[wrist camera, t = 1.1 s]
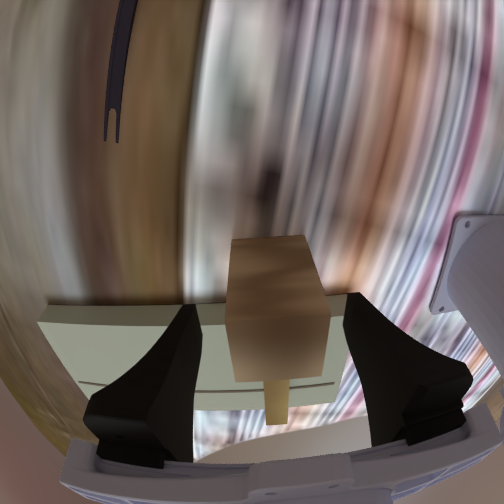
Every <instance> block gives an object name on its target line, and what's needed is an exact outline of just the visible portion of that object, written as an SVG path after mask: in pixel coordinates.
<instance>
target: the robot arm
mask: <svg viewBox="0 0 504 504" xmlns="http://www.w3.org/2000/svg"><path fill="white" fill-rule="evenodd" d="M466 222H467V223H466ZM465 223H466V225H465ZM455 310H459V311H460V313H461V314H462V316H463V317H464V318H465V320H466V321H467V323H468V324H469V326H470V327H471V329H472V330H473V331H474V333H475V334H476V336H477V337H478V339H479V340H480V342H481V344H482V345H483V347H484V348H485V350H486V351H487V353H488V355H489V356H490V358H491V359H492V361H493V363H494V364H495V366H496V368H497V369H498V371H499V373H500V374H501V376H502V378H503V380H504V215H461V216H458V217H457V218H456V219H455V222H454V225H453V230H452V234H451V238H450V242H449V246H448V250H447V254H446V258H445V261H444V265H443V269H442V272H441V275H440V279H439V282H438V285H437V288H436V291H435V294H434V297H433V300H432V303H431V306H430V312H431V314H433V315H435V314H441V313H446V312H451V311H455ZM342 325H343V329H344V334H345V338H346V342H347V345H348V348H349V350H350V353H351V356H352V359H353V361H354V364H355V367H356V369H357V372H358V375H359V378H360V381H361V384H362V389H363V393H364V398H365V403H366V408H367V413H368V420H369V426H370V434H371V444H372V447H371V448H367V449H362V450H358V451H353V452H348V453H343V454H342V453H337V454H327V455H320V456H313V457H306V458H297V459H287V460H276V461H267V462H260V463H252V464H206V463H193V409H194V395H195V388H196V383H197V377H198V372H199V366H200V360H201V355H202V340H203V334H202V330H201V325H200V321H199V317H198V313H197V308H196V304H188V305H182V306H181V308H180V309H179V311H178V312H177V314H176V315H175V317H174V318H173V320H172V321H171V323H170V324H169V326H168V327H167V328H166V330H165V331H164V333H163V334H162V335H161V337H160V338H159V339H158V340H157V341H156V343H155V344H154V345H153V346H152V348H151V349H150V350H149V351H148V352H147V353H146V354H145V355H144V356H143V357H142V358H141V359H140V360H139V361H138V362H137V363H136V364H135V365H134V366H133V367H132V368H130V369H129V370H128V371H127V372H126V373H124V374H123V375H122V376H121V377H119V378H118V379H116V380H115V381H113V382H112V383H111V384H109V385H107V386H106V387H104V388H102V389H101V390H99V391H97V392H95V393H94V394H92V395H91V397H90V400H89V402H88V405H87V408H86V411H85V414H84V417H83V421H84V424H85V425H86V426H87V428H88V429H89V430H90V431H91V432H92V433H93V434H94V435H95V436H96V437H97V438H98V439H99V444H98V445H96V444H94V443H91V442H88V441H83V440H79V439H75V438H71V441H70V444H69V448H68V451H67V454H66V458H65V462H64V465H63V468H62V472H61V476H60V480H59V482H60V483H61V484H63V485H64V486H66V487H68V488H69V489H71V490H73V491H75V492H76V493H78V494H81V495H82V496H84V497H85V498H87V499H90V500H94V501H97V502H100V503H104V504H393V501H394V500H397V499H400V498H402V497H405V496H408V495H410V494H413V493H415V492H418V491H420V490H423V489H424V488H427V487H429V486H432V485H434V484H436V483H438V482H441V481H443V480H445V479H447V478H449V477H451V476H453V475H455V474H457V473H459V472H461V471H464V470H466V469H468V468H469V467H471V466H473V465H475V464H477V463H478V462H480V461H481V460H482V459H484V458H485V457H486V456H487V455H488V454H490V453H491V452H492V451H493V450H494V449H496V448H497V447H498V446H499V445H500V444H501V443H503V444H504V406H503V408H502V411H501V416H500V432H501V434H500V432H499V430H498V427H497V425H496V423H495V421H494V419H493V417H492V415H491V412H490V410H489V408H488V406H487V404H486V403H482V404H480V405H478V406H475V407H473V408H471V409H469V410H467V411H466V412H464V413H463V411H462V409H461V408H462V407H463V402H462V400H461V399H462V398H463V397H464V395H465V394H466V393H467V391H468V390H469V388H470V387H471V385H472V382H473V376H472V375H471V373H470V371H469V369H468V367H467V366H466V364H465V363H464V362H461V361H458V360H455V359H452V358H449V357H447V356H445V355H442V354H440V353H438V352H436V351H434V350H432V349H430V348H428V347H426V346H425V345H423V344H421V343H420V342H418V341H416V340H415V339H413V338H412V337H410V336H409V335H407V334H406V333H405V332H403V331H402V330H401V329H399V328H398V327H397V326H396V325H394V324H393V323H392V322H391V321H390V320H388V319H387V318H386V317H385V316H384V315H383V314H382V313H381V312H380V311H379V310H377V309H376V308H375V307H374V306H373V305H372V304H371V303H370V302H369V301H368V300H367V299H366V298H365V297H364V296H363V295H362V294H361V293H360V292H355V293H347V300H346V306H345V312H344V318H343V324H342ZM500 393H501V395H502V397H503V399H504V386H503V387H502V389H501V390H500Z"/></svg>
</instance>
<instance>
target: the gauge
mask: <svg viewBox="0 0 504 504" xmlns="http://www.w3.org/2000/svg"><path fill="white" fill-rule="evenodd" d="M330 320H331V311H330V308H329V305H328V302H327V299H326V296H325V293H324V290H323V287H322V284H321V281H320V278H319V275H318V272H317V269H316V266H315V264H314V261H313V258H312V255H311V252H310V250H309V247H308V244H307V241H306V238H305V236H304V235H295V236H278V237H262V238H247V239H232V242H231V252H230V263H229V274H228V286H227V297H226V309H225V327H226V333H227V339H228V344H229V350H230V355H231V361H232V366H233V372H234V377H235V383H237V382H260V381H263V386H264V400H265V415H266V425H280V424H287V419H288V402H289V383H290V379H300V378H309V377H318V376H322V371H323V365H324V360H325V353H326V347H327V341H328V334H329V327H330Z"/></svg>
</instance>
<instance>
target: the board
mask: <svg viewBox="0 0 504 504" xmlns="http://www.w3.org/2000/svg"><path fill="white" fill-rule="evenodd" d="M326 299H327V302H328V305H329V308H330V311H331V320H330V327H329V334H328V341H327V347H326V353H325V360H324V365H323V371H322V376H318V377H309V378H300V379H290V383H289V402H288V407H297V406H307V405H315V404H323V403H330V402H335V400H336V397H337V393H338V390H339V386H340V382H341V379H342V375H343V371H344V367H345V363H346V359H347V355H348V350H349V348H348V345H347V342H346V338H345V334H344V329H343V325H342V324H343V318H344V312H345V306H346V300H347V294H342V295H331V296H326ZM187 305H188V304H187ZM181 306H182V305H148V306H73V305H48V306H47V307H46V309H45V310H44V312H43V313H42V314H41V316H40V317H39V319H38V320H37V323H38V325H39V326H40V328H41V330H42V332H43V333H44V335H45V337H46V338H47V340H48V342H49V343H50V345H51V346H52V348H53V350H54V351H55V353H56V354H57V356H58V357H59V359H60V360H61V362H62V363H63V365H64V366H65V368H66V369H67V371H68V372H69V374H70V375H71V376H72V378H73V379H74V381H75V382H76V383H77V385H78V386H79V387H80V389H81V390H82V391H83V393H84V394H85V395H86V397H87V398H88V399H89V400H90V397H91V395H92V394H94V393H95V392H97V391H99V390H101V389H102V388H104V387H106V386H107V385H109V384H111V383H112V382H113V381H115V380H116V379H118V378H119V377H121V376H122V375H123V374H124V373H126V372H127V371H128V370H129V369H130V368H132V367H133V366H134V365H135V364H136V363H137V362H138V361H139V360H140V359H141V358H142V357H143V356H144V355H145V354H146V353H147V352H148V351H149V350H150V349H151V348H152V346H153V345H154V344H155V343H156V341H157V340H158V339H159V338H160V337H161V335H162V334H163V333H164V331H165V330H166V328H167V327H168V326H169V324H170V323H171V321H172V320H173V318H174V317H175V315H176V314H177V312H178V311H179V309H180V308H181ZM196 308H197V313H198V317H199V321H200V325H201V330H202V334H203V340H202V355H201V360H200V366H199V372H198V377H197V383H196V388H195V395H194V409H193V410H256V409H265V400H264V386H263V381H260V382H237V383H235V377H234V372H233V366H232V361H231V355H230V350H229V344H228V339H227V333H226V327H225V309H226V303H213V304H196Z"/></svg>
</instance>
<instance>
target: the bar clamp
mask: <svg viewBox="0 0 504 504" xmlns="http://www.w3.org/2000/svg"><path fill="white" fill-rule="evenodd" d="M137 1H138V0H120V2H119V7H118V11H117V17H116V22H115V27H114V33H113V39H112V46H111V53H110V61H109V69H108V78H107V89H106V102H105V119H104V141H106V138H107V126H108V115H109V111H110V109H111V108H114V109H115V110H116V113H117V115H116V143H118V140H119V125H120V112H121V101H122V91H123V82H124V74H125V67H126V60H127V54H128V47H129V41H130V36H131V30H132V25H133V20H134V15H135V10H136V5H137Z"/></svg>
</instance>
